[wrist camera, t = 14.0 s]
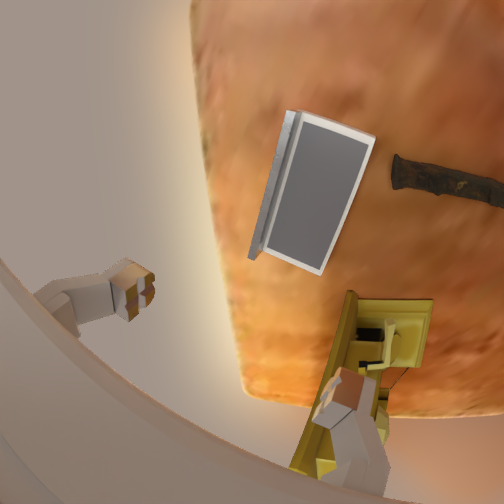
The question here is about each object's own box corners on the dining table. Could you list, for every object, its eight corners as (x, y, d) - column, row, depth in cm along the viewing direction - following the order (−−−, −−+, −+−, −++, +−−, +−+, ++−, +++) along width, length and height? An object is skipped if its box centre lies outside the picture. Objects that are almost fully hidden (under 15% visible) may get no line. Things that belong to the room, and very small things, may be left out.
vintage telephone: (412, 394, 48) (388, 532, 24) (348, 391, 54) (304, 522, 30) (437, 258, 36) (462, 464, 12) (345, 259, 42) (276, 450, 18)
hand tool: (389, 181, 34) (390, 194, 30) (392, 151, 32) (395, 160, 28) (510, 211, 28) (521, 227, 24) (517, 184, 25) (531, 197, 22)
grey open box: (375, 136, 32) (375, 141, 27) (325, 263, 43) (315, 288, 38) (301, 109, 35) (286, 109, 29) (265, 237, 46) (247, 257, 40)
